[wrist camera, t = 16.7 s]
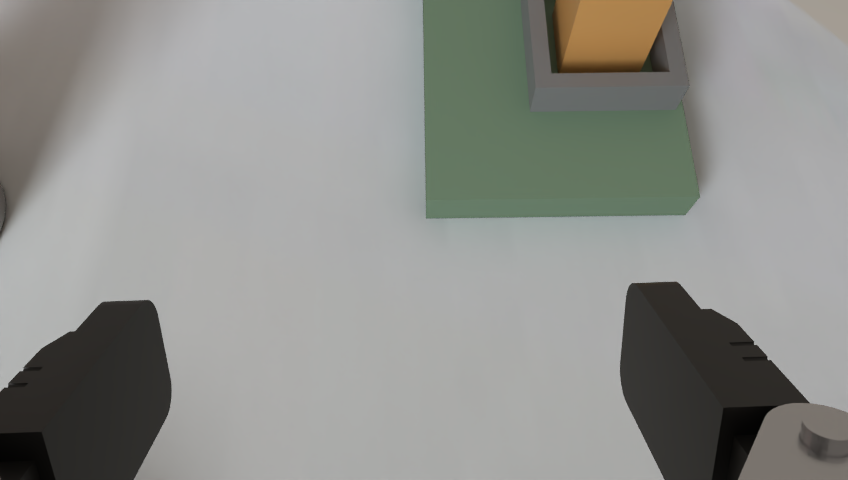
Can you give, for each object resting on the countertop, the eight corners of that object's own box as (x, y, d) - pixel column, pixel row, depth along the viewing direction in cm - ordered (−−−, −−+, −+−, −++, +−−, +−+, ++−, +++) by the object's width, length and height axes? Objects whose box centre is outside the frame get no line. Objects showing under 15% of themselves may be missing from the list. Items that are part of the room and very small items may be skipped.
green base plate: (422, -51, 51) (421, -109, 46) (637, -54, 51) (658, -112, 46) (426, 218, 42) (425, 180, 38) (685, 214, 42) (716, 176, 38)
